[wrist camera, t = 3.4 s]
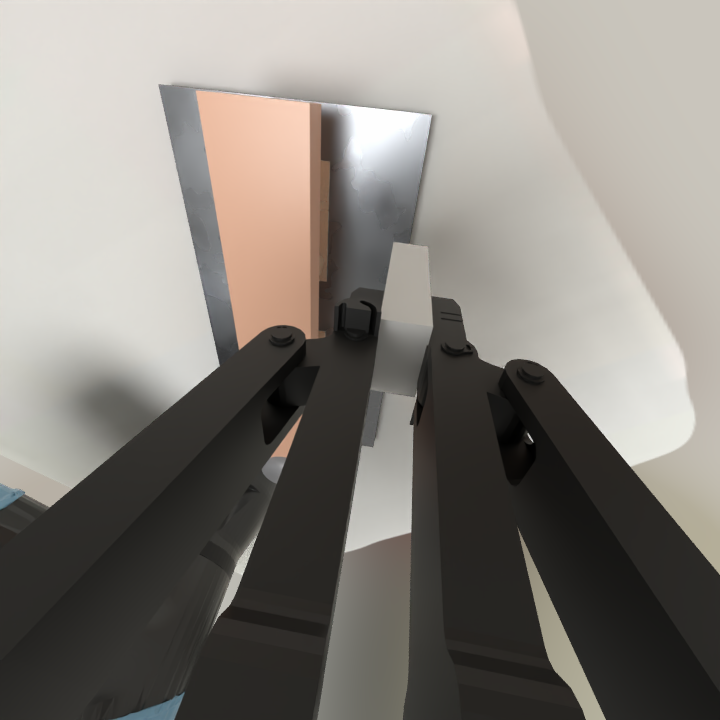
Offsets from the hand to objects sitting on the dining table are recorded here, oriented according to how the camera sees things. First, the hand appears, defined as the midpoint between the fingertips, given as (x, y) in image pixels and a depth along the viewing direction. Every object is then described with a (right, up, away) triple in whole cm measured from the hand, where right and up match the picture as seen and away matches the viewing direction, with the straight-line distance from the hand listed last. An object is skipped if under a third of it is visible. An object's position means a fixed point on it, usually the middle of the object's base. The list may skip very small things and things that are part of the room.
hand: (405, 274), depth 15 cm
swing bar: (-7, -3, +7) cm, 10 cm away
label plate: (-6, 0, +10) cm, 12 cm away
